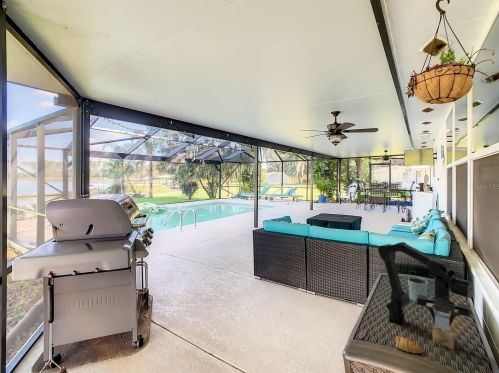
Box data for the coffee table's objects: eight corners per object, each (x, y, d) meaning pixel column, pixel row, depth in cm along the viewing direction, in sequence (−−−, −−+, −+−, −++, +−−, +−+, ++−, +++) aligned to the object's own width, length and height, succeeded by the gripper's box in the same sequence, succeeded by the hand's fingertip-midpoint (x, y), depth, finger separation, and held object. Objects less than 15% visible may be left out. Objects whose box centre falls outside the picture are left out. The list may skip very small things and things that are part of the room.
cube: (435, 326, 110) (434, 315, 110) (435, 321, 114) (435, 310, 114) (449, 330, 107) (449, 319, 107) (449, 325, 111) (449, 314, 111)
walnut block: (433, 344, 110) (433, 336, 110) (432, 336, 116) (432, 328, 116) (453, 349, 106) (453, 341, 106) (451, 341, 112) (451, 333, 112)
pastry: (421, 348, 107) (420, 339, 107) (421, 358, 101) (421, 348, 101) (396, 341, 112) (395, 333, 112) (395, 349, 107) (395, 341, 106)
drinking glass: (432, 303, 145) (431, 283, 145) (414, 303, 146) (414, 283, 146) (420, 295, 156) (420, 277, 156) (404, 296, 156) (404, 277, 156)
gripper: (415, 290, 110) (415, 324, 110) (471, 302, 98) (471, 340, 99) (417, 282, 119) (417, 314, 119) (468, 292, 107) (469, 327, 107)
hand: (442, 323), depth 111 cm, fingers closed on cube, 5 cm apart
